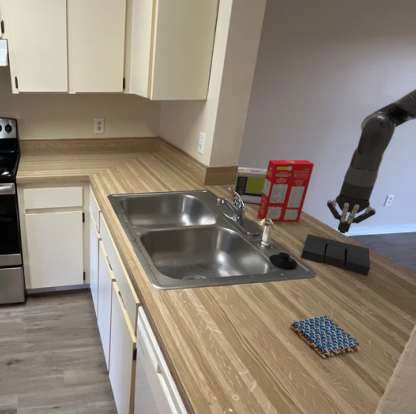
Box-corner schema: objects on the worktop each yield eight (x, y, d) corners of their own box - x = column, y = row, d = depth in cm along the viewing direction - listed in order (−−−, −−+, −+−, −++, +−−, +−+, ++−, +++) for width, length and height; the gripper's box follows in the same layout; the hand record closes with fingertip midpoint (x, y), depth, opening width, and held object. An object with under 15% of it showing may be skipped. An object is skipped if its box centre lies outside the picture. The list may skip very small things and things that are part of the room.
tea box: (266, 198, 162) (272, 169, 156) (267, 205, 154) (274, 175, 148) (233, 194, 167) (238, 165, 161) (233, 201, 159) (238, 171, 153)
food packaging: (292, 216, 143) (306, 160, 133) (298, 221, 138) (314, 163, 128) (257, 216, 143) (269, 160, 133) (262, 221, 138) (275, 163, 128)
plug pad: (342, 255, 113) (345, 248, 112) (341, 268, 107) (344, 260, 105) (325, 251, 116) (327, 244, 115) (323, 263, 109) (325, 255, 108)
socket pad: (366, 256, 113) (369, 248, 112) (366, 275, 103) (370, 267, 101) (305, 241, 123) (307, 233, 122) (300, 257, 112) (302, 249, 111)
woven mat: (287, 326, 83) (289, 320, 82) (322, 319, 85) (324, 313, 85) (321, 359, 74) (324, 352, 73) (360, 350, 76) (363, 344, 75)
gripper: (332, 180, 101) (317, 231, 108) (387, 189, 94) (368, 242, 101) (333, 174, 106) (319, 222, 113) (386, 182, 99) (367, 233, 106)
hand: (342, 232), depth 107 cm, fingers closed
